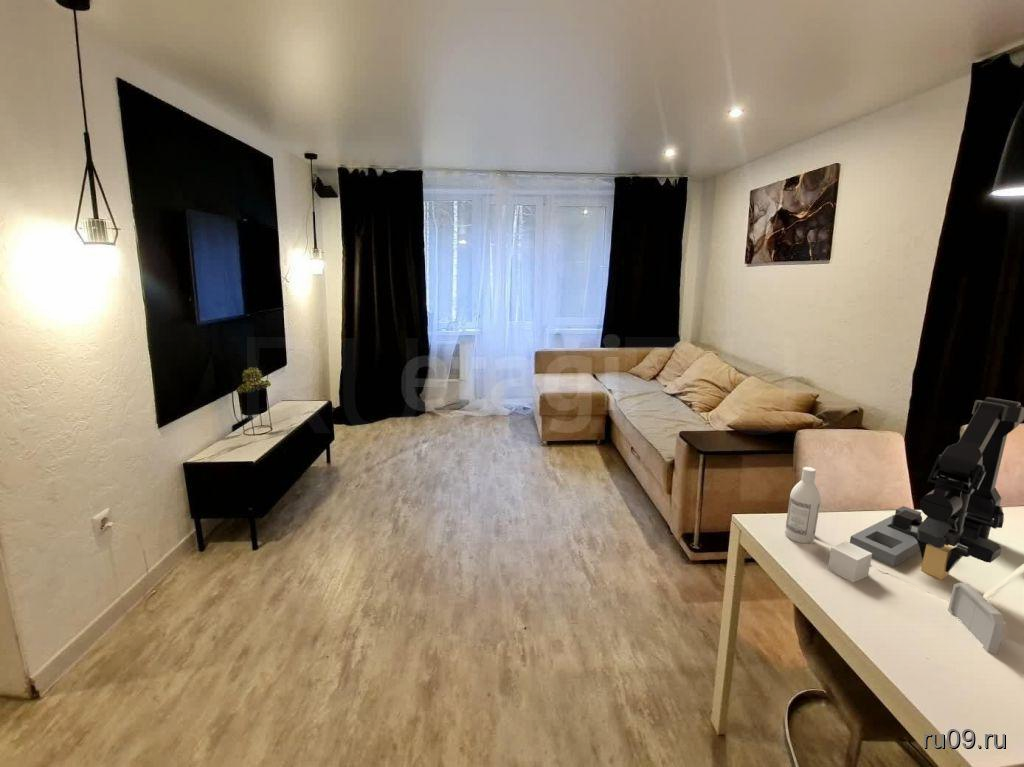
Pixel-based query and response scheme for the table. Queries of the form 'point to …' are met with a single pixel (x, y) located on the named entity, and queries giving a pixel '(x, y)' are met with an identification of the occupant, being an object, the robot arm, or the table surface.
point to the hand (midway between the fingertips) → (936, 566)
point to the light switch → (977, 616)
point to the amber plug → (936, 560)
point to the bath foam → (803, 508)
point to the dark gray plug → (903, 510)
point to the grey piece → (886, 542)
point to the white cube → (849, 561)
